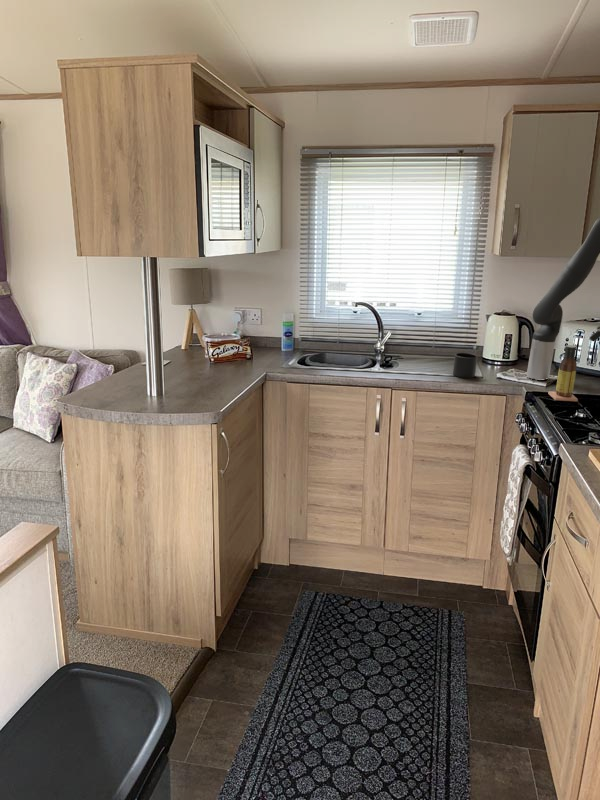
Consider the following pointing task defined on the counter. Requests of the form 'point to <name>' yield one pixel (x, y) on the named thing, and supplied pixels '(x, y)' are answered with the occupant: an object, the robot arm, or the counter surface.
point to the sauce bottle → (567, 372)
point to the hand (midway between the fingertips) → (595, 342)
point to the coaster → (562, 397)
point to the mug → (465, 365)
